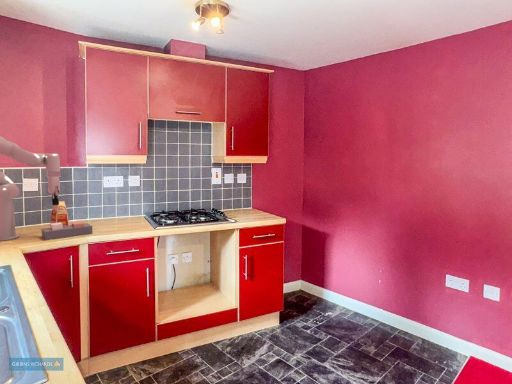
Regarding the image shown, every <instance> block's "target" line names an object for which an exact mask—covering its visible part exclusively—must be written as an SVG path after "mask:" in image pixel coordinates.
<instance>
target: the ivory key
mask: <svg viewBox="0 0 512 384" xmlns="http://www.w3.org/2000/svg"><path fill="white" fill-rule="evenodd" d="M49 228H50V229H51V230H58V229H63V225H62V223H60V222H59V223H49Z"/></svg>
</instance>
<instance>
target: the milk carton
mask: <svg viewBox="0 0 512 384" xmlns="http://www.w3.org/2000/svg"><path fill="white" fill-rule="evenodd" d="M50 214H51V215H50V223H59V222H60V223H62V225H63V226H67V225H70V221H69V213H68V209H67V206H66V201H63V200H62V201H61V200H59V205H52V210H51V213H50ZM50 223H49V224H50Z"/></svg>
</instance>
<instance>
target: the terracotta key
mask: <svg viewBox="0 0 512 384" xmlns="http://www.w3.org/2000/svg"><path fill="white" fill-rule="evenodd" d="M84 223H85V222H82V221H76V222H71V225H72V227H82V226H84Z"/></svg>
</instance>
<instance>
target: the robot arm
mask: <svg viewBox="0 0 512 384" xmlns="http://www.w3.org/2000/svg"><path fill="white" fill-rule="evenodd" d="M0 155H3V156H5V157H8V158H10V159H12V160H15V161H16V162H18V163H21V164H24V165H27V166H30V167H42V166H45V174H46V178H47V193H49V194H51V202H52V203H51V204H52V206H53V205H59V201H60V199H59V194H60V193H61V184H60V178H61V177H62V176H61V175H62V174H61V161H60V160H61V159H60V155H59V153H43V152H39V153H38V152H36V153H35V152H31V151H28V150H26V149H23V148H21V147H20V146H19V145H18V144H17V143H15V142H12V141H9V140H7V139H6V138H4V137H3V136H1V135H0ZM19 195H20V188H19V186H17V184H16V183H14V181H12V179H10V177H8V176H7V175H6V174H5V173H4V172H3V171H0V242H1V241H11V240H15V239H18V238H19V237H20V234H19V233H16V221H15V220H16V219H15V218H16V217H15V206H14V202H13V199H16V198H17V197H18V196H19Z"/></svg>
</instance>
